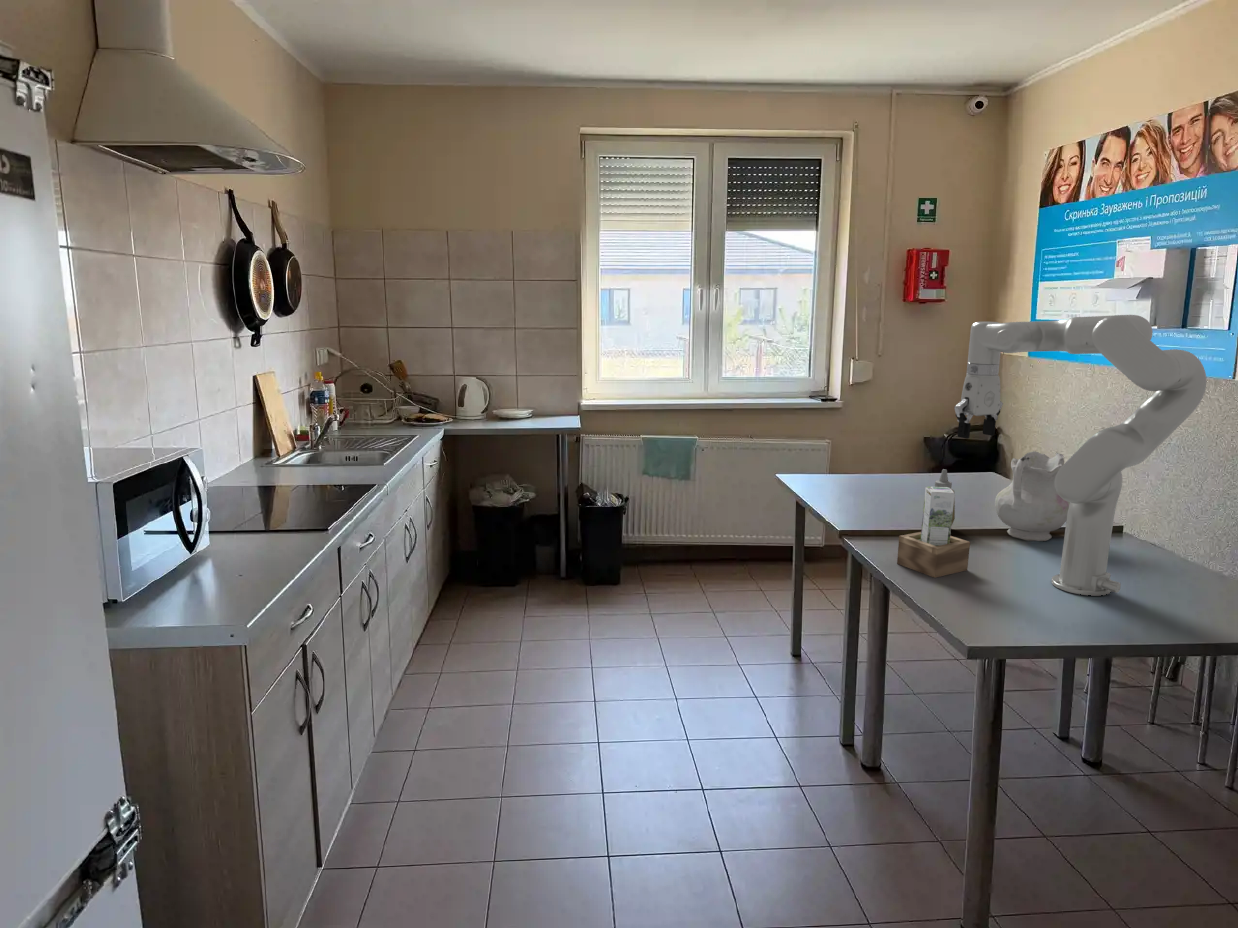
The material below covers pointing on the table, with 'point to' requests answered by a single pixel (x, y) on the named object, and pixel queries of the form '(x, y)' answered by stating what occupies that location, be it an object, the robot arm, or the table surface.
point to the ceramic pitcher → (1033, 498)
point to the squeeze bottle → (945, 483)
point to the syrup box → (937, 515)
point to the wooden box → (933, 555)
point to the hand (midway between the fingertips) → (975, 436)
